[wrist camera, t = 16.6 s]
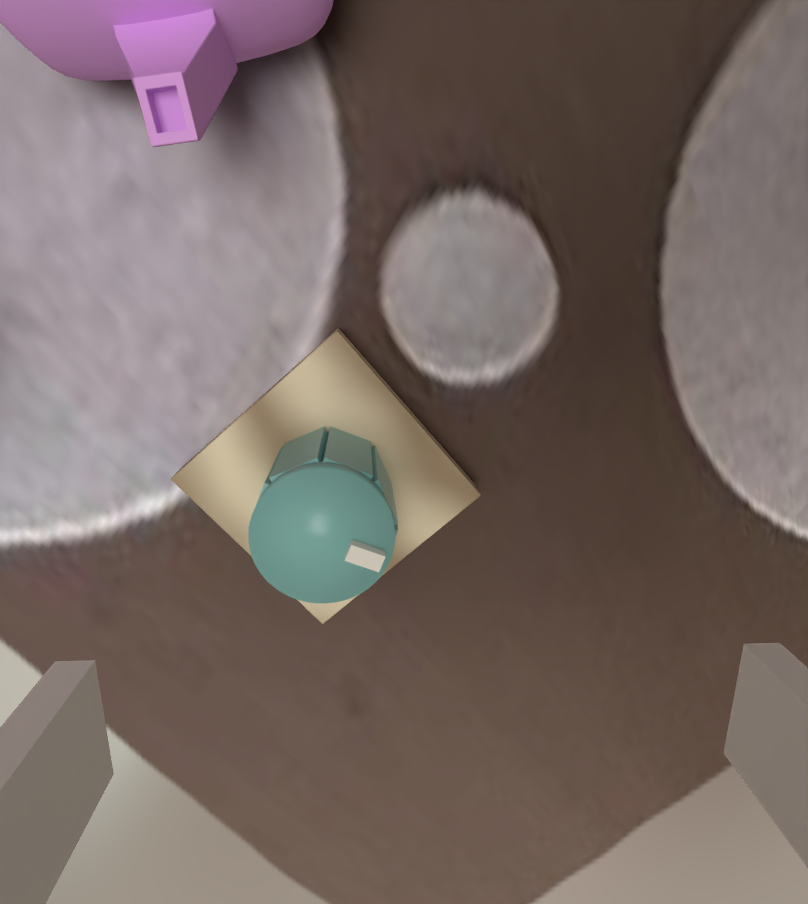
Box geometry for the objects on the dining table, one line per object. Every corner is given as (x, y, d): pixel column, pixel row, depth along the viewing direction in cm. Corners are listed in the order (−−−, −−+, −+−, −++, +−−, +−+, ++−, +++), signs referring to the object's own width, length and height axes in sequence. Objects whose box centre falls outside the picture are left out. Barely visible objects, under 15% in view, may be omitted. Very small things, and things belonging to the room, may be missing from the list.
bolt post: (338, 328, 33) (332, 341, 26) (474, 483, 36) (503, 534, 29) (181, 468, 34) (134, 517, 27) (324, 606, 37) (316, 683, 30)
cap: (254, 518, 33) (225, 584, 26) (294, 412, 32) (274, 451, 25) (363, 555, 34) (363, 628, 27) (405, 454, 33) (418, 503, 26)
